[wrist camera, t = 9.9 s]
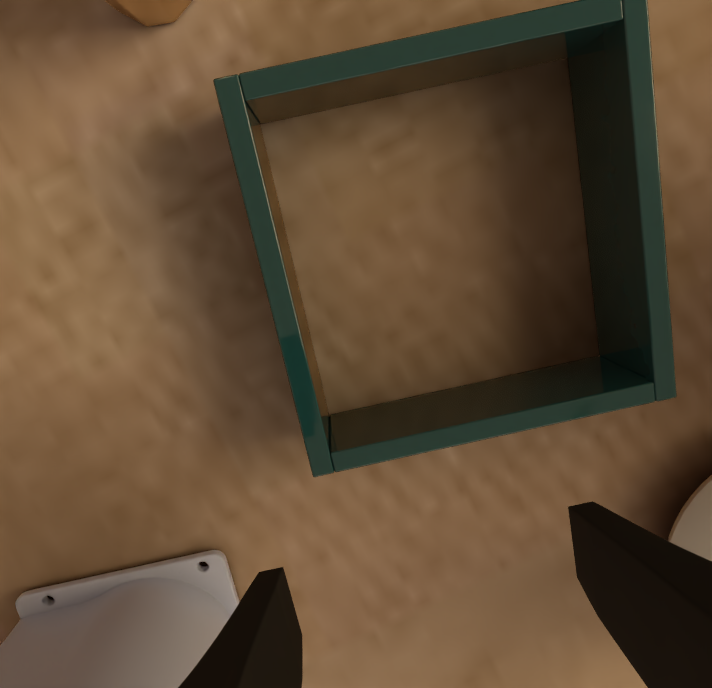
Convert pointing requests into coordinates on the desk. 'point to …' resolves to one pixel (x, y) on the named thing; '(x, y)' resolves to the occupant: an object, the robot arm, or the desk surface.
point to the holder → (601, 207)
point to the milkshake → (151, 10)
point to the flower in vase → (695, 522)
